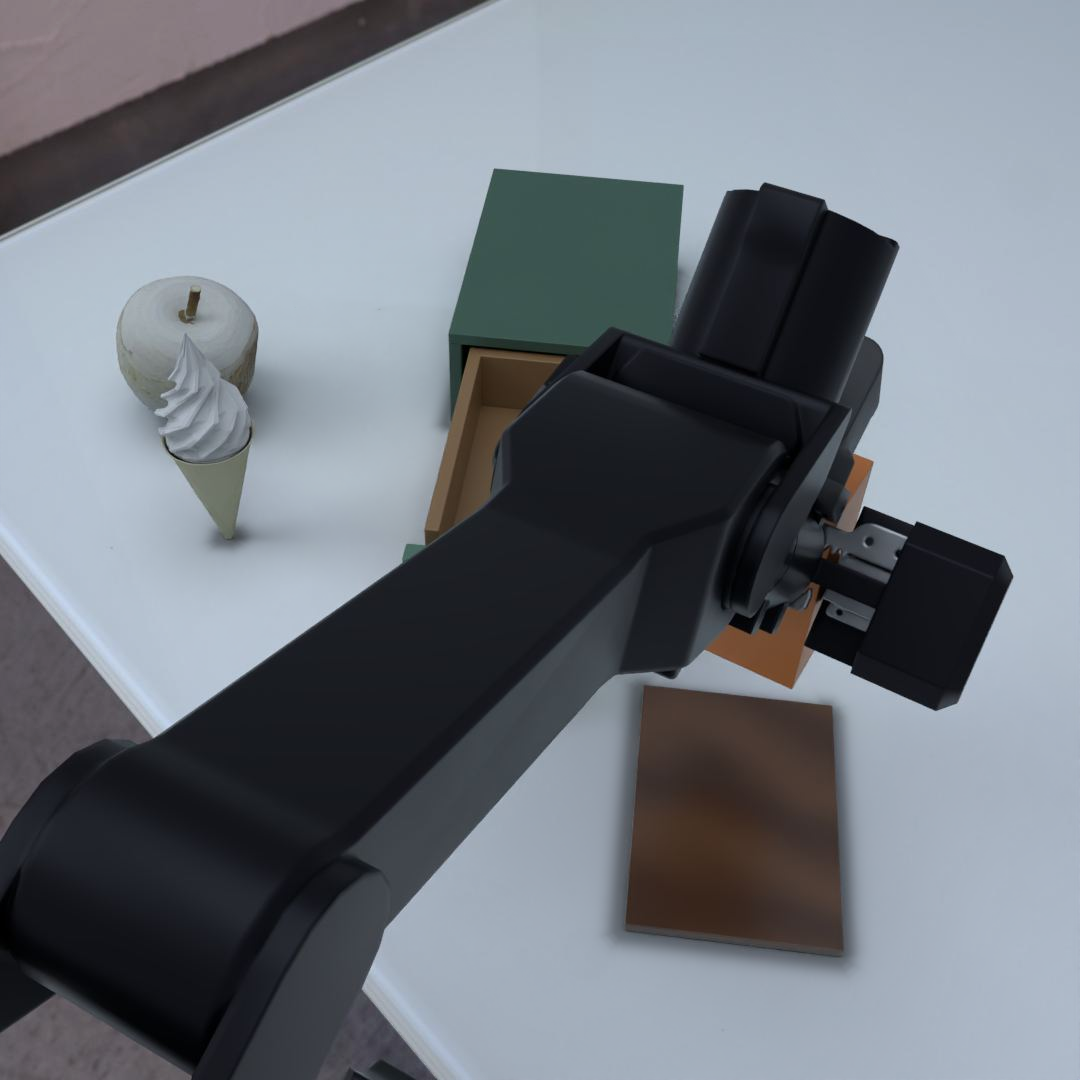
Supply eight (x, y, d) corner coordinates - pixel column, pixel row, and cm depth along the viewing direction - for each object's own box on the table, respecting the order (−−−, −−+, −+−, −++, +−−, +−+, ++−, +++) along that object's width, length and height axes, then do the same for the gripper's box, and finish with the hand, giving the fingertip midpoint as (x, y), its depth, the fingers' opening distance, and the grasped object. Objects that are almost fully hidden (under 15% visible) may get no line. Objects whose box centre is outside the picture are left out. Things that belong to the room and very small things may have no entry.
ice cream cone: (168, 553, 76) (115, 346, 66) (215, 497, 80) (172, 292, 69) (243, 578, 75) (202, 372, 64) (288, 520, 78) (255, 316, 68)
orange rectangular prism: (791, 690, 59) (838, 518, 52) (692, 645, 61) (723, 472, 53) (825, 633, 62) (874, 460, 54) (729, 591, 64) (763, 418, 56)
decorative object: (141, 368, 88) (110, 240, 81) (273, 364, 89) (254, 237, 82) (124, 457, 82) (89, 327, 75) (266, 451, 83) (245, 322, 75)
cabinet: (659, 442, 84) (670, 354, 79) (450, 421, 85) (448, 333, 80) (673, 269, 98) (684, 184, 93) (493, 252, 99) (493, 167, 94)
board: (841, 957, 60) (844, 951, 60) (623, 930, 61) (624, 924, 60) (830, 712, 70) (832, 705, 69) (642, 691, 70) (643, 684, 70)
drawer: (626, 712, 68) (634, 647, 64) (391, 685, 69) (385, 620, 65) (651, 427, 84) (659, 362, 80) (460, 408, 85) (458, 342, 81)
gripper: (1086, 404, 41) (1066, 464, 55) (566, 223, 47) (672, 320, 62) (941, 730, 42) (960, 704, 56) (449, 509, 48) (581, 538, 62)
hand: (787, 554), depth 59 cm, fingers closed on orange rectangular prism, 5 cm apart
